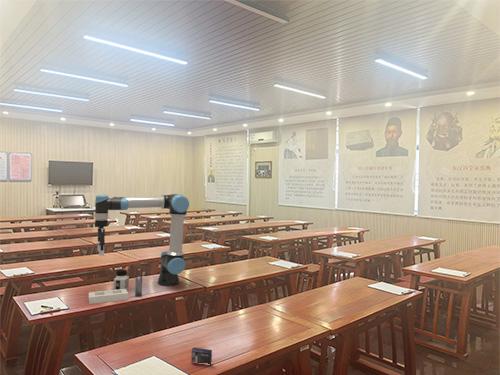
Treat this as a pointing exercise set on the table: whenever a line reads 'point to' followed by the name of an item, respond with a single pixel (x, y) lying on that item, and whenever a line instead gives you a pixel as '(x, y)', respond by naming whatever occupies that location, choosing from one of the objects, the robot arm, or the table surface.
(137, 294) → the pin
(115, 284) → the container
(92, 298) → the white slotted block
